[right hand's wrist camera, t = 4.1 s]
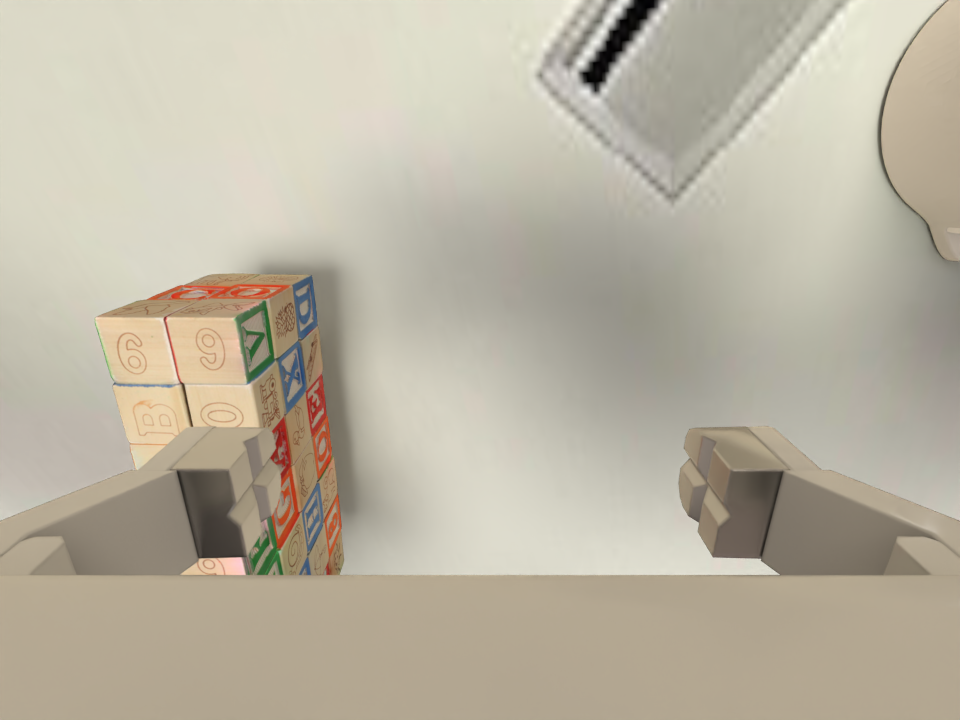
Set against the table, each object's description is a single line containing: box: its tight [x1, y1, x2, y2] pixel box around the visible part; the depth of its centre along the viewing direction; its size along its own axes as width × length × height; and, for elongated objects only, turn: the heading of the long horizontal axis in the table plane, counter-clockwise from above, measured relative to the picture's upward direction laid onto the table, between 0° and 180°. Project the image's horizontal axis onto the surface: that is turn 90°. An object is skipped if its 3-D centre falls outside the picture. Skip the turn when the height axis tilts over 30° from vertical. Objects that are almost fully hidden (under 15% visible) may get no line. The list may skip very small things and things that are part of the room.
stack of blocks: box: [95, 274, 344, 575], centre depth 28 cm, size 21×6×12 cm, turn 0°
